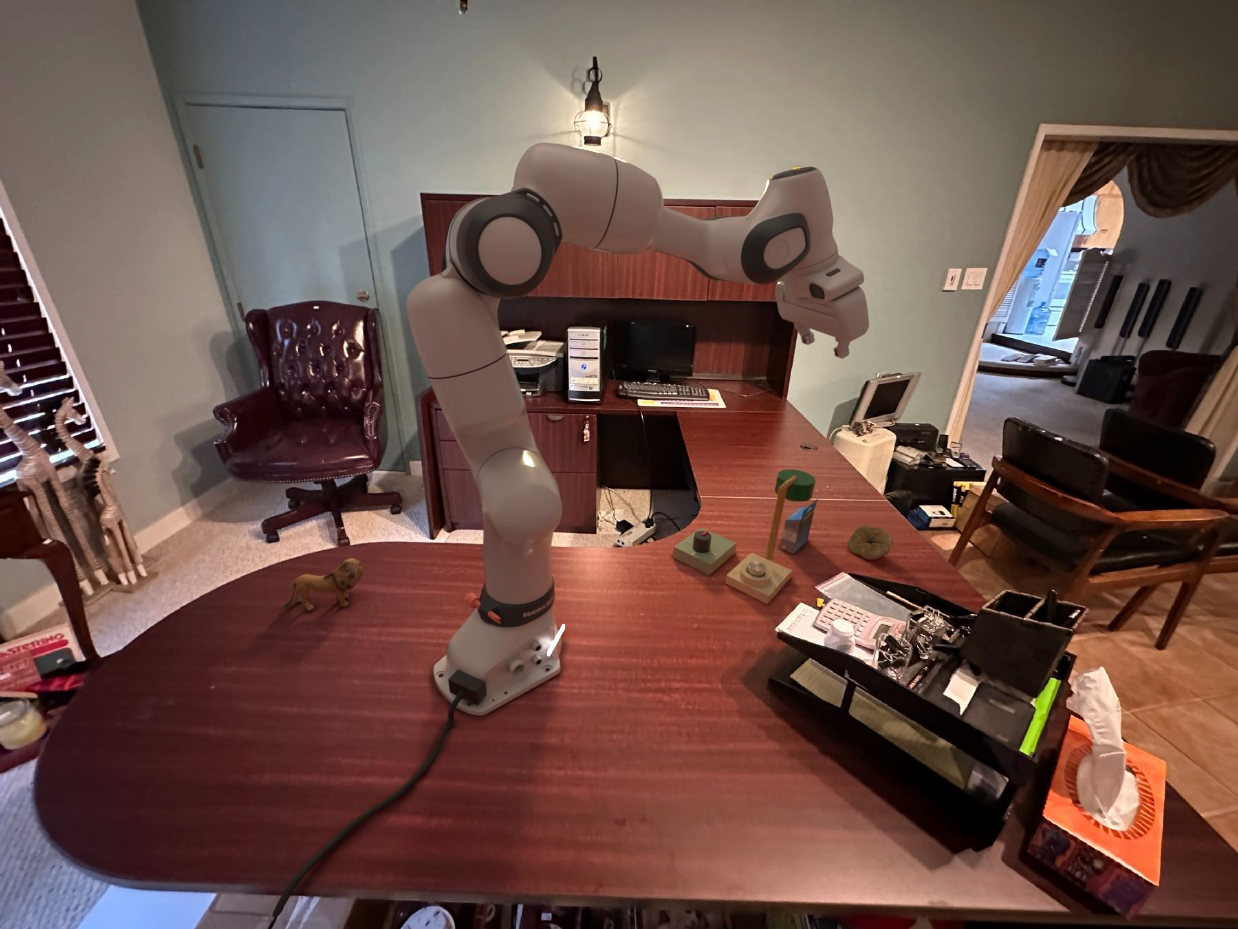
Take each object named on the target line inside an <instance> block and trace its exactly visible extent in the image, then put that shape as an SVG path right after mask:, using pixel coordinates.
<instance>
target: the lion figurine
mask: <svg viewBox="0 0 1238 929" xmlns="http://www.w3.org/2000/svg"><path fill="white" fill-rule="evenodd" d="M364 572H365V571H364V569H363V566H362V563H361V561H360V560H358V559H356V558H353V557H350V558H346V559H345V560H343V562H341V564H340V565H339V566H338V567H336V568H335V569H333V570H331V571H330V572H329V573H328V574H325V575H313V574H311V573H310V574H309V573H306V574H301V575H300V576H298V577H296V578H294V580H293V582H292V585H291V594H290V598H289V601H288V602H286V604H284V607H283V608H289V607H290V606H291V605H292V603H293V601H294V599H295V600H296V602H298V603H302V605H303V607H305V609H306V610H307V611H308V612H311V611H313V610H314V609H315V606H314V605H313V604H310V603H308V602H309V601H308V598H309V594H310V591H313V592H316V593H318V594H323V595H324V594H332V593H334V594H335V595H336V597H337V599H338V602H339V605H340V606H341V607H343V608H347V607H348V606H349V604H350V603H349V601H346V599H348V598H349V597H350V595H349V593H345V592H348V591H350V590H353V589H354V588H355V586H356V584H358V583H359V581H360V580H361V579H362V578H363V576H364Z"/></svg>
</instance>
